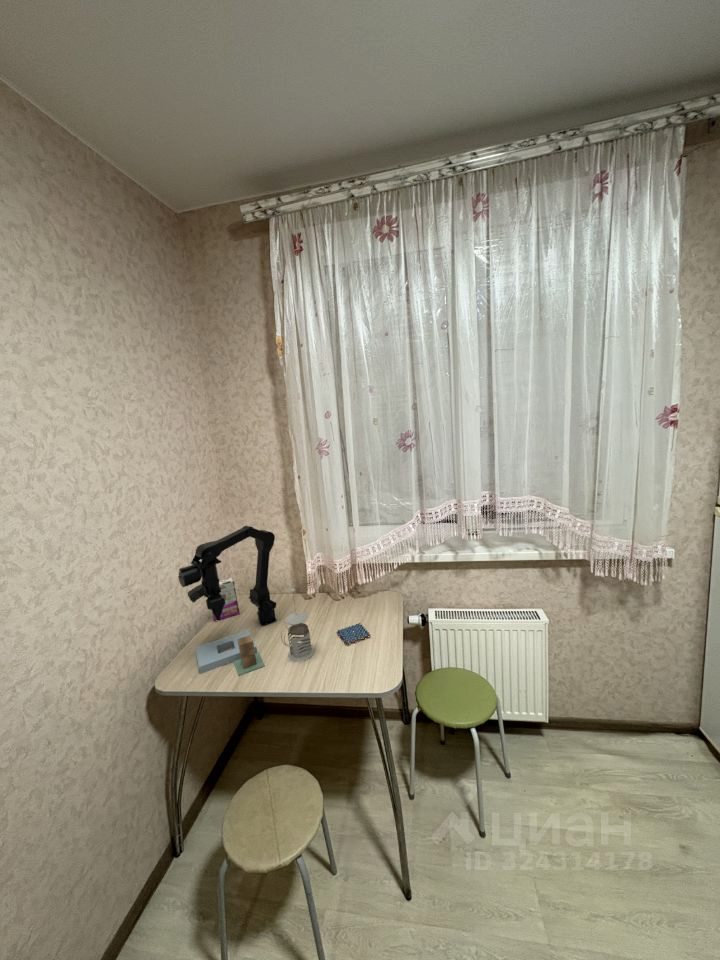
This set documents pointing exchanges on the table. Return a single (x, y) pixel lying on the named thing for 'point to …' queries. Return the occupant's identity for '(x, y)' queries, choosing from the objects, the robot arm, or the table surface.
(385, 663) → the table surface
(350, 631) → the woven mat
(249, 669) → the green pad
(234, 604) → the candy bar box
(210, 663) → the pocket board
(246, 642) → the walnut block
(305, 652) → the french press
